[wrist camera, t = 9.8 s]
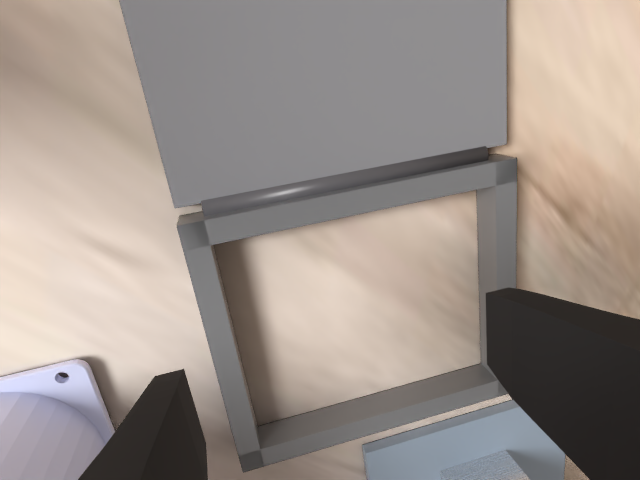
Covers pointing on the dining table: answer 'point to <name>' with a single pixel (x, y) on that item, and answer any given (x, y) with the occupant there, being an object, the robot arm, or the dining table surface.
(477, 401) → the hinged gray frame
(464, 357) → the dining table surface
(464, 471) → the block
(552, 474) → the pad
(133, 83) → the dining table surface
